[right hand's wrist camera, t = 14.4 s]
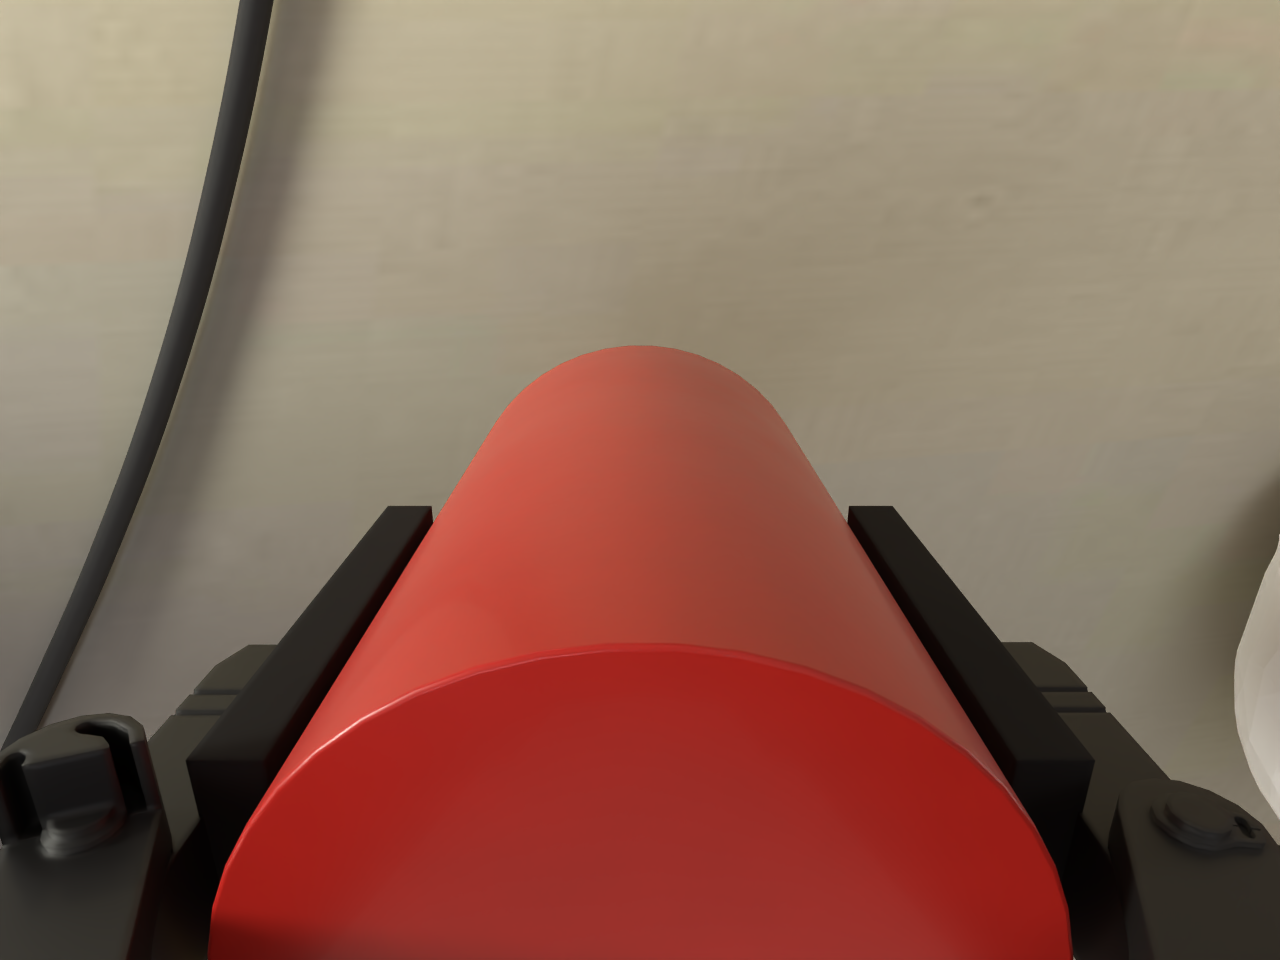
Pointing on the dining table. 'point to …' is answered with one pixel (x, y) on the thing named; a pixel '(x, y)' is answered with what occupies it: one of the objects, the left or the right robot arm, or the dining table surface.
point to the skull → (1261, 686)
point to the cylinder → (640, 721)
